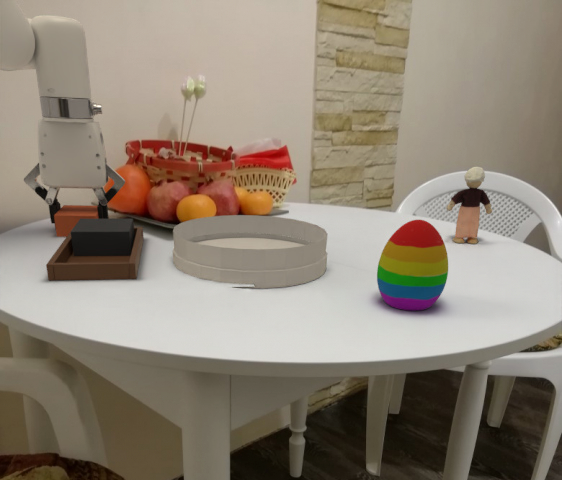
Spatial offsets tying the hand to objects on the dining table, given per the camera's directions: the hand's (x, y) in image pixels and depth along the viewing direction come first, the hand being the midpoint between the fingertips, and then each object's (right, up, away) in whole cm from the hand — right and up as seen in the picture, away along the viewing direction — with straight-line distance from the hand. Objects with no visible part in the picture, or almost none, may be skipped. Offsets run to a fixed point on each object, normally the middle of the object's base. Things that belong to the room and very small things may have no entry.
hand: (81, 227), depth 92 cm
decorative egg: (+50, -17, -26) cm, 58 cm away
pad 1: (0, -1, 0) cm, 1 cm away
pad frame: (+8, -9, -14) cm, 19 cm away
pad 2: (+8, -6, -10) cm, 14 cm away
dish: (+30, -9, -13) cm, 34 cm away
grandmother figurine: (+67, -1, +5) cm, 67 cm away
